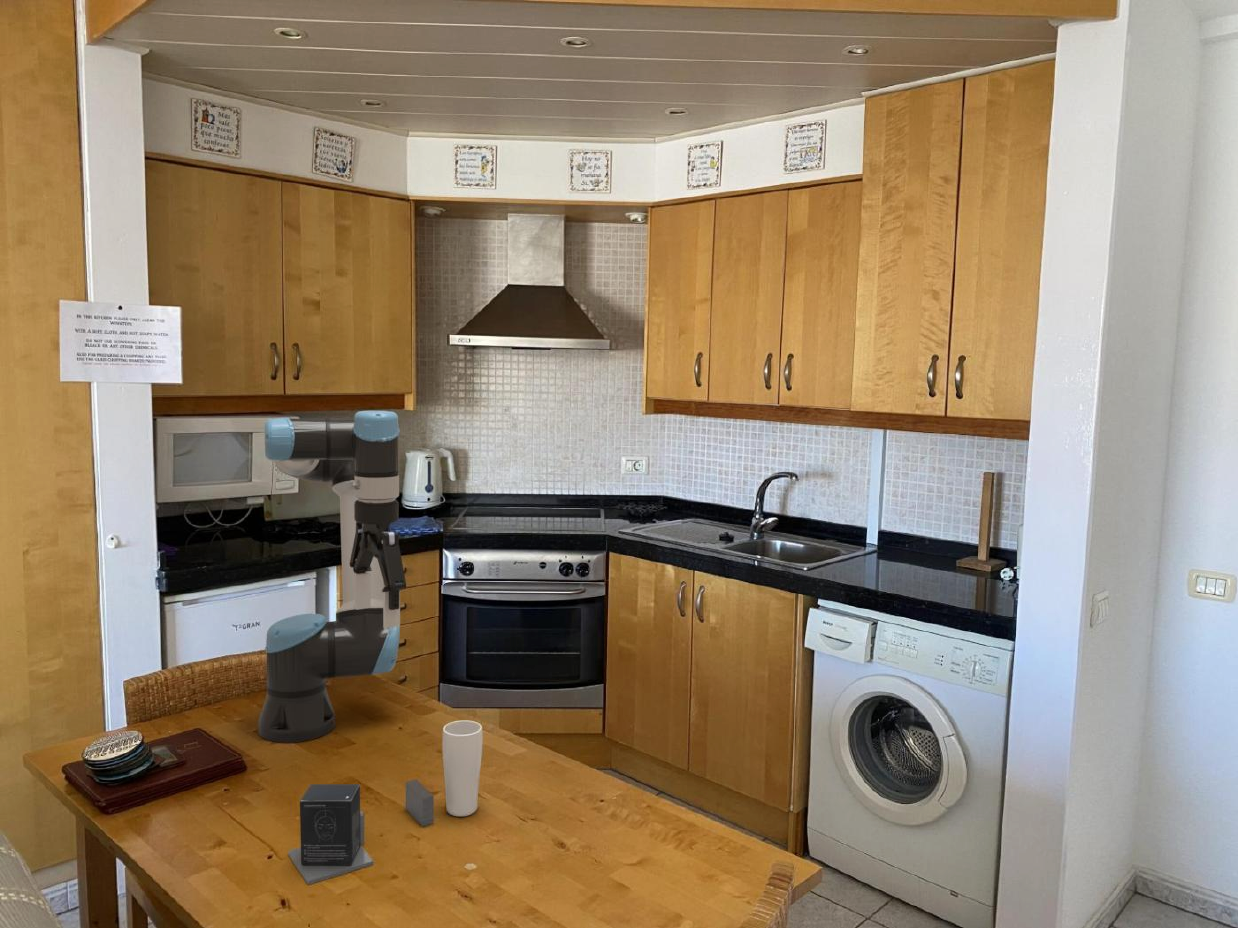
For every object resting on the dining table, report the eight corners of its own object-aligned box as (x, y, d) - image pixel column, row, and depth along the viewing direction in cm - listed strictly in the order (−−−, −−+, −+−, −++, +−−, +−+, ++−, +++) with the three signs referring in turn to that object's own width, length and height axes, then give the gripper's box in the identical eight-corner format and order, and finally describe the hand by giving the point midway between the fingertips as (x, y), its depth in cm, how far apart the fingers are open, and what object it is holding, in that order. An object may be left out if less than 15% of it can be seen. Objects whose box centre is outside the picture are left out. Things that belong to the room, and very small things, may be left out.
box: (361, 846, 145) (360, 783, 144) (352, 866, 140) (351, 800, 139) (311, 846, 145) (310, 782, 144) (299, 865, 140) (299, 799, 138)
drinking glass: (473, 822, 155) (474, 737, 154) (435, 817, 157) (436, 733, 155) (487, 803, 162) (488, 721, 160) (450, 798, 163) (451, 717, 161)
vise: (308, 836, 149) (308, 807, 149) (416, 806, 160) (416, 779, 160) (322, 856, 143) (322, 826, 143) (433, 823, 154) (433, 795, 154)
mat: (287, 854, 144) (287, 850, 144) (350, 836, 150) (350, 832, 150) (308, 884, 136) (308, 880, 136) (373, 864, 142) (373, 860, 142)
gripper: (331, 491, 168) (332, 603, 171) (383, 511, 148) (383, 638, 151) (370, 488, 173) (371, 598, 175) (426, 508, 153) (425, 631, 155)
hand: (376, 617), depth 163 cm, fingers open, 13 cm apart
